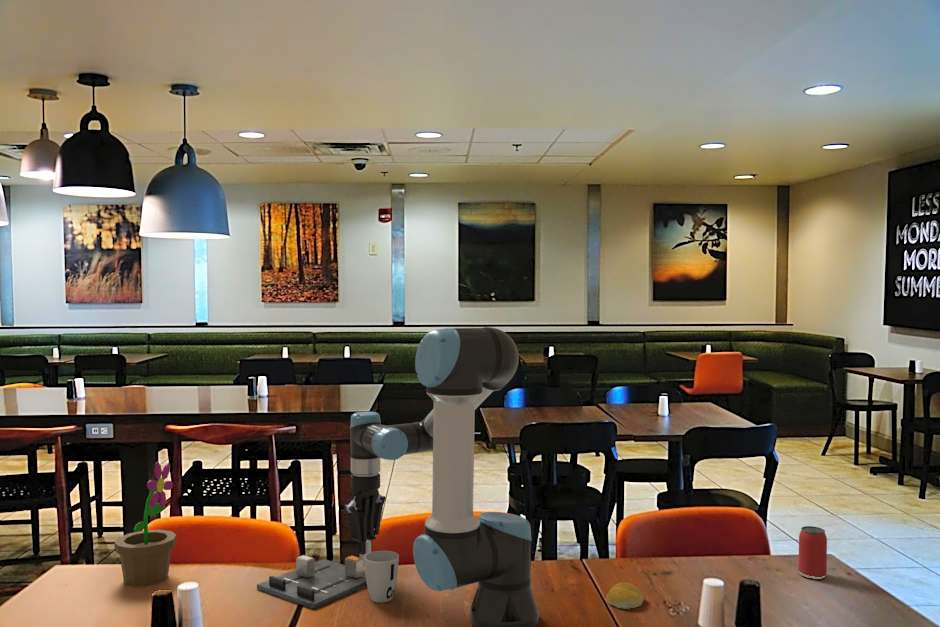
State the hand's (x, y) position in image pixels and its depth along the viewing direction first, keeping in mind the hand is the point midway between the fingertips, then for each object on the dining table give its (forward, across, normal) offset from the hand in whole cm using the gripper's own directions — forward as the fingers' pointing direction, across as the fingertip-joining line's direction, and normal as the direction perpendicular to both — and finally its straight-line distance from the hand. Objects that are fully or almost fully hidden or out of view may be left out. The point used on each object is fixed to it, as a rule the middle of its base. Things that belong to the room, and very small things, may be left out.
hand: (365, 565), depth 194 cm
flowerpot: (+3, +34, -43) cm, 55 cm away
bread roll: (+3, -25, +60) cm, 65 cm away
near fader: (+1, +4, 0) cm, 4 cm away
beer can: (+3, -69, +92) cm, 114 cm away
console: (+3, +11, -5) cm, 12 cm away
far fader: (+1, +11, -10) cm, 15 cm away
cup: (+3, +8, +13) cm, 16 cm away
